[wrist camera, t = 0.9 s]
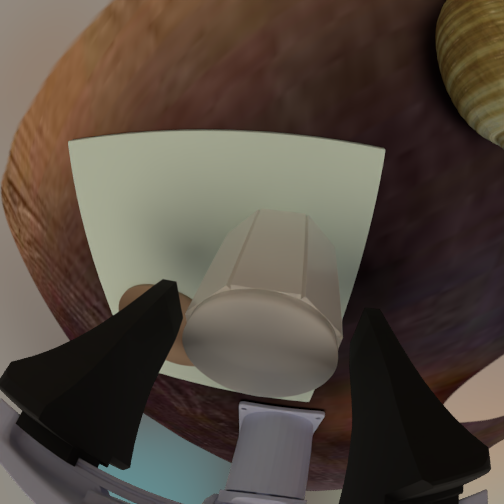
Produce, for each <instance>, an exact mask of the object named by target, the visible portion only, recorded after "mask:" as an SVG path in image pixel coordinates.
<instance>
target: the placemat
mask: <svg viewBox="0 0 504 504" xmlns="http://www.w3.org/2000/svg"><path fill="white" fill-rule="evenodd" d="M68 146H69V153H70V160H71V166H72V172H73V178H74V183H75V189H76V194H77V198H78V203H79V208H80V212H81V216H82V220H83V224H84V228H85V232H86V236H87V239H88V243H89V246H90V250H91V253H92V257H93V260H94V263H95V266H96V269H97V272H98V275H99V278H100V281H101V284H102V287H103V290H104V293H105V295H106V298H107V301H108V303H109V306H110V308H111V311H112V314H113V315H115V314H116V313H118V312H119V301H120V299H121V297H122V295H123V294H124V293H125V292H126V291H127V290H128V289H129V288H131V287H133V286H136V285H140V284H154V285H155V284H156V283H158V282H159V281H161V280H162V279H166V280H171V281H177V287H178V292H180V293H182V294H184V295H186V296H188V297H189V298H191V299H193V297H194V295H195V294H196V292H197V290H198V288H199V286H200V284H201V282H202V280H203V278H204V276H205V274H206V273H207V271H208V269H209V267H210V265H211V263H212V261H213V259H214V258H215V256H216V254H217V252H218V250H219V248H220V246H221V245H222V243H223V241H224V239H225V237H226V235H227V234H228V233H229V232H230V231H231V230H232V229H234V228H235V227H236V226H237V225H239V224H240V223H241V222H243V221H244V220H245V219H246V218H248V217H249V216H250V215H251V214H253V213H254V212H255V211H257V210H259V211H260V210H261V209H270V210H279V211H288V212H296V213H304V214H306V217H307V216H308V215H309V216H310V217H311V219H312V220H313V221H314V222H315V223H316V225H317V226H318V227H319V228H320V229H321V231H322V232H323V233H324V234H325V236H326V237H327V238H328V239H329V240H330V242H331V243H332V244H333V245H334V247H335V253H336V262H337V271H338V280H339V291H340V303H341V316H342V319H343V316H344V313H345V310H346V307H347V304H348V301H349V298H350V295H351V292H352V289H353V285H354V282H355V279H356V276H357V272H358V269H359V265H360V262H361V258H362V255H363V251H364V248H365V244H366V240H367V236H368V232H369V228H370V224H371V220H372V216H373V211H374V207H375V202H376V198H377V193H378V188H379V183H380V178H381V173H382V167H383V161H384V156H385V149H384V148H382V147H377V146H372V145H366V144H361V143H355V142H349V141H343V140H337V139H330V138H323V137H315V136H307V135H298V134H288V133H277V132H263V131H246V130H206V129H202V130H162V131H145V132H132V133H121V134H112V135H103V136H95V137H88V138H81V139H75V140H71V141H68ZM159 373H161V374H165V375H168V376H172V377H175V378H179V379H183V380H187V381H191V382H195V383H199V384H203V385H207V386H211V387H216V388H221V389H225V390H230V391H234V390H231V389H229V388H226V387H224V386H222V385H220V384H218V383H216V382H214V381H213V380H211V379H210V378H208V377H207V376H205V375H204V374H203V373H202V372H200V371H199V370H198V369H197V368H196V367H195V366H184V365H179V364H175V363H172V362H169V361H166V360H165V362H164V364H163V366H162V368H161V370H160V372H159ZM314 390H315V389H314ZM314 390H312V391H309V392H306V393H304V394H300V395H295V396H289V397H271V398H278V399H286V400H294V401H303V402H309V401H310V399H311V396H312V394H313V392H314ZM235 392H237V391H235Z"/></svg>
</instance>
